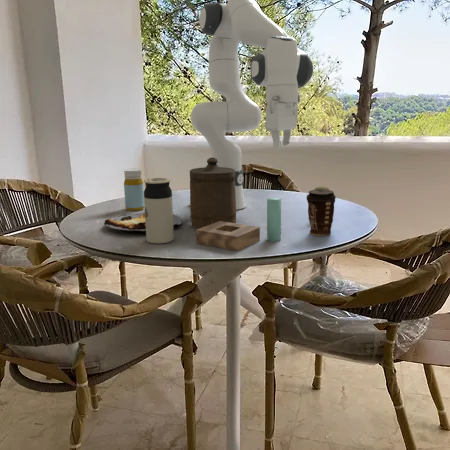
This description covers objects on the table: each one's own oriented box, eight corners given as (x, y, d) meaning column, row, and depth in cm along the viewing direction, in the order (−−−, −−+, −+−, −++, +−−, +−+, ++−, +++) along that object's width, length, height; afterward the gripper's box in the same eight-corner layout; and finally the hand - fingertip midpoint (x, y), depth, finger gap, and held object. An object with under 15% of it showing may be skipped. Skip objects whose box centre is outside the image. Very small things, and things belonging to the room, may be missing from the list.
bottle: (146, 207, 188) (143, 168, 184) (142, 211, 181) (140, 171, 177) (128, 207, 188) (125, 168, 184) (123, 211, 181) (121, 171, 177)
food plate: (133, 240, 143) (133, 228, 142) (90, 228, 159) (89, 217, 158) (195, 226, 161) (195, 215, 160) (150, 216, 176) (150, 206, 176)
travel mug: (174, 236, 147) (172, 177, 143) (172, 244, 139) (170, 181, 135) (148, 236, 147) (145, 177, 142) (144, 244, 139) (141, 182, 135)
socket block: (196, 243, 140) (195, 229, 139) (219, 233, 149) (219, 221, 148) (237, 251, 132) (237, 236, 131) (259, 240, 142) (259, 227, 141)
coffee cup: (316, 228, 154) (318, 187, 151) (339, 232, 148) (341, 190, 145) (300, 233, 148) (301, 191, 145) (324, 238, 142) (325, 195, 139)
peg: (264, 239, 142) (264, 199, 139) (271, 236, 145) (271, 197, 142) (276, 242, 140) (277, 201, 137) (283, 238, 143) (283, 198, 140)
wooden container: (216, 217, 170) (215, 154, 165) (245, 225, 159) (245, 157, 154) (181, 224, 161) (179, 157, 155) (210, 233, 150) (208, 161, 144)
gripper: (282, 95, 126) (282, 149, 129) (301, 97, 145) (300, 144, 148) (259, 96, 129) (259, 148, 132) (280, 97, 147) (280, 144, 150)
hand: (281, 146), depth 140 cm, fingers open, 8 cm apart
